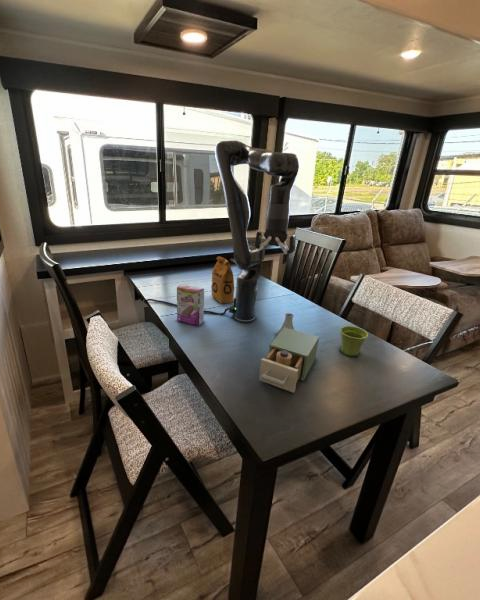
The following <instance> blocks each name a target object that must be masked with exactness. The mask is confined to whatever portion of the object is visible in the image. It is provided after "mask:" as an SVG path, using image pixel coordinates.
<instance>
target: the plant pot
mask: <svg viewBox="0 0 480 600" xmlns="http://www.w3.org/2000/svg"><path fill="white" fill-rule="evenodd" d="M339 331H340V336H341V338H340V339H341V341H340V343H341V344H340V351H341V352H342V353H343V354H344V355H346V356H348V357H353V356H358V355H359V353H360V351H361V348H362V346H363V344H364V342H365V340H366V339H367V338H368V337H369V333H368V332H367V331H366V330H364V329H363V328H360V327H357V326H352V325H345V326H342V327H340V329H339Z"/></svg>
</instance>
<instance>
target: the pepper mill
mask: <svg viewBox="0 0 480 600" xmlns="http://www.w3.org/2000/svg"><path fill="white" fill-rule="evenodd" d="M291 358H292V355H291V354H290V353H289V352H288V351H286V350H282V351H279V352H278V353H277V356H276V362H277V363H280V364H283V365H286V366H289V367H290V365H291Z"/></svg>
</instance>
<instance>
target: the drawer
mask: <svg viewBox="0 0 480 600" xmlns="http://www.w3.org/2000/svg"><path fill="white" fill-rule="evenodd" d="M279 351H282V350H279V349H276V348H273V349H272V351H271V352H270V353H269V352H268V354H267V356H265V358H264V357H262V358H261V359H260V367H259V377H258V381H261V382H263V383H266V384H268V385H272V386H274V387H277V388H279V389H283V390H285V391H288V392H291V393H293V394H294V393H295V392H296V386H297V383H298V381H299V377H300V376H301V374H302V371H303V366H304V360H305V357H302V356H298V355H295V354H292V353H290V354H291V355H292V358H291V365H290V367H289V366H286V365H283V364H280V363H277V362H276V356H277V353H278V352H279Z"/></svg>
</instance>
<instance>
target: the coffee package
mask: <svg viewBox="0 0 480 600" xmlns="http://www.w3.org/2000/svg"><path fill="white" fill-rule="evenodd" d="M216 260H217V261H216V263H215V264H214V267H213V269H212V270H211V287H210V288H211V297H213V298H214V299H215V300H216V301H217V302H219V303H220V304H222V305H223V304H231V303H234V298H235V296H234V293H235V280H234V279H235V278H234V273H233V270H232V267H231V265H230V261H229V260H227V259H226V258H224V257H222V256H217V257H216Z"/></svg>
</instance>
